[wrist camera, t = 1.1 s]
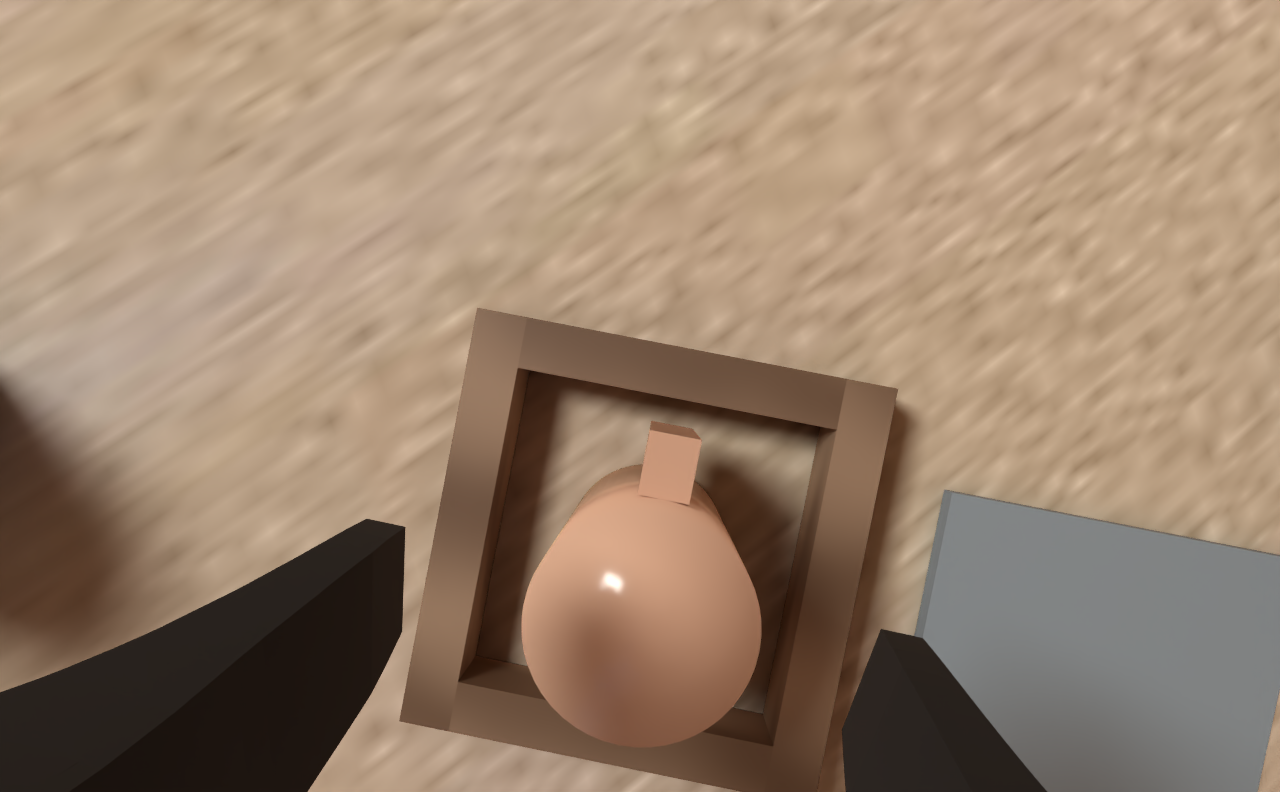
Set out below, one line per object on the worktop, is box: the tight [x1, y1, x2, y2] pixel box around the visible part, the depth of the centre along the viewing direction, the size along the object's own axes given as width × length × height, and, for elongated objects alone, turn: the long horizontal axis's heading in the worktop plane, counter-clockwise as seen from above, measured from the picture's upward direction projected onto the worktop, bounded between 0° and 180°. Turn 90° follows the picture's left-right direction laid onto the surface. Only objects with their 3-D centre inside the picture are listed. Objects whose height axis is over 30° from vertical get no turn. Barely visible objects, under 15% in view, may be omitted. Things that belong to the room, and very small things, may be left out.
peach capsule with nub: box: [521, 421, 761, 747], centre depth 18 cm, size 6×5×8 cm
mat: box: [915, 490, 1280, 792], centre depth 22 cm, size 11×11×1 cm
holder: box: [399, 308, 898, 792], centre depth 21 cm, size 12×12×2 cm
